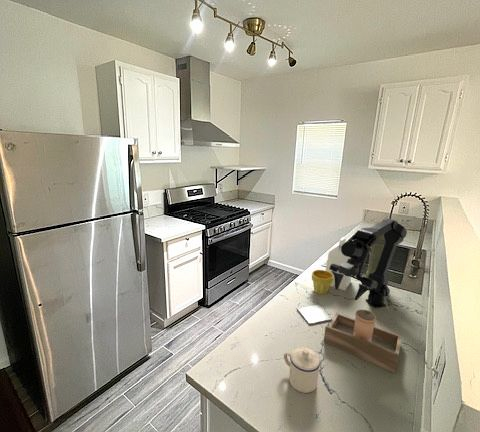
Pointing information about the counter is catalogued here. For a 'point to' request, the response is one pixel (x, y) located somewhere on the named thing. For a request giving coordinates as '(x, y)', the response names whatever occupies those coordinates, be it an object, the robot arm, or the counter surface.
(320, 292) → the plant pot
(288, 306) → the counter surface
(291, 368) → the teacup with lid
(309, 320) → the slate tile
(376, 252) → the thermos
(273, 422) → the counter surface
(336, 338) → the wooden box frame
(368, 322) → the terracotta pot
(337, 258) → the milk
